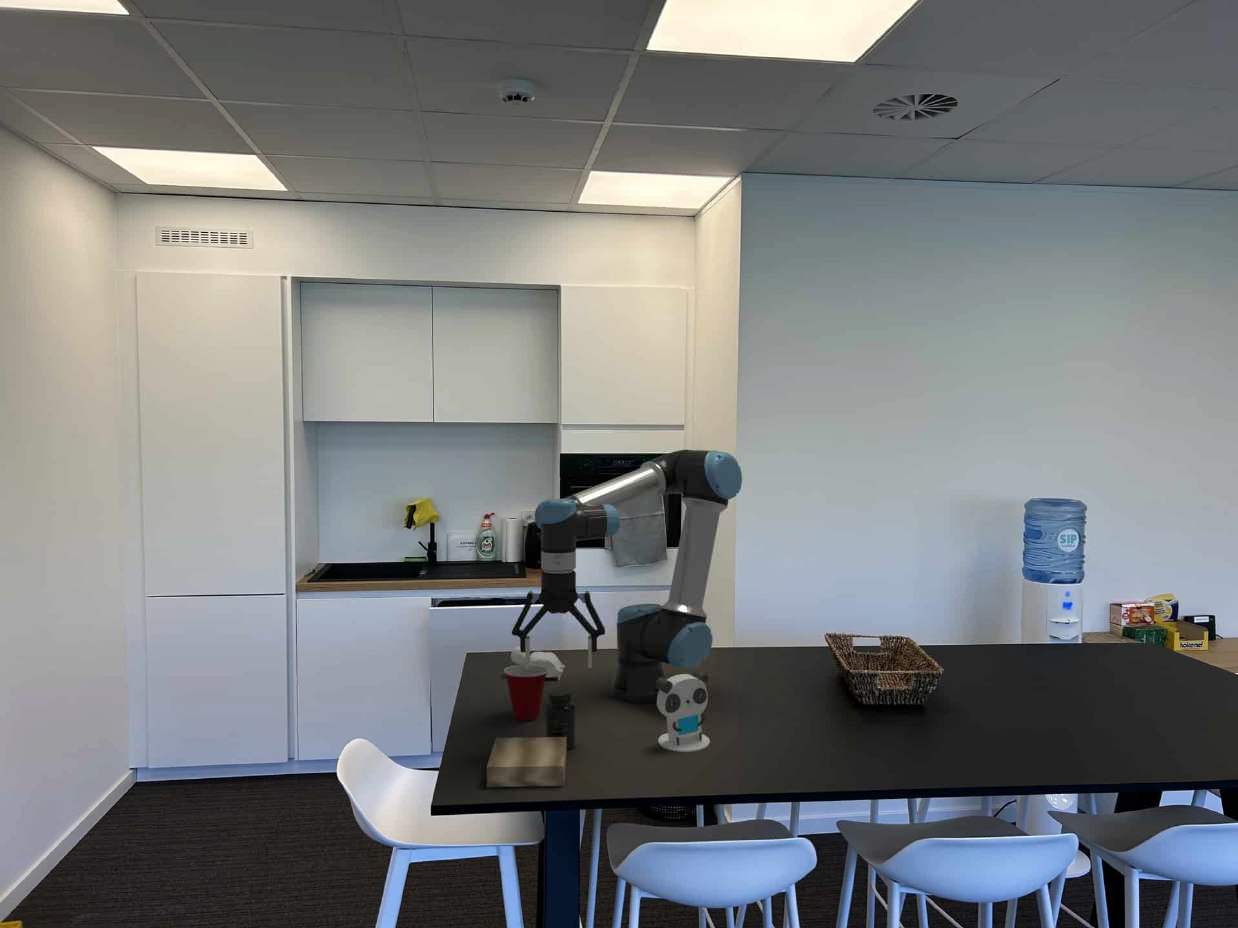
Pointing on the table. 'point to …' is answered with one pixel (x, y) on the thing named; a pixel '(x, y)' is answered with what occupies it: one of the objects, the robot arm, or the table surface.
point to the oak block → (527, 762)
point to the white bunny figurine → (540, 661)
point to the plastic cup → (526, 690)
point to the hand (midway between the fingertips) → (558, 666)
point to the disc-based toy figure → (683, 711)
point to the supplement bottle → (561, 717)
